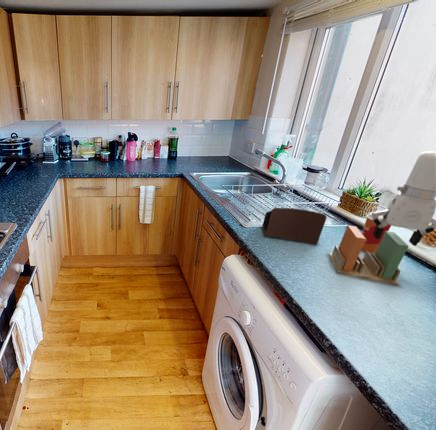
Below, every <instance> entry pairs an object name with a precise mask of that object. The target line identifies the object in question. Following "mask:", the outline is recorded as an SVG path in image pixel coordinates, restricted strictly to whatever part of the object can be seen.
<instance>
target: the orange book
mask: <svg viewBox="0 0 436 430" xmlns="http://www.w3.org/2000/svg"><path fill="white" fill-rule="evenodd" d="M365 240H366V238H365V237H364V236H363V235H362V231H361V230H360V229H359V228H358V227H357V226H355V225H349V224H348V225H347V226H346V228H345V230H344V233H343V235H342V238H341V240H340V243H339V245H338V248H339V250H340V252H341V254H342V255H343V257H344V259H345V263H344V265H343V268H342V269H343V270H347V271H352V270H353V267H354V265H355V263H356V261H357V258H358V256H360V254H361V252H362V250H361V249H362V247H363V245H364V243H365Z"/></svg>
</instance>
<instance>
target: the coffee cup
mask: <svg viewBox="0 0 436 430" xmlns="http://www.w3.org/2000/svg"><path fill="white" fill-rule="evenodd" d="M372 212H373V211H370V212H369V213H368V214H366V220H365V222H364V225H363V227H362V231H361V233H362V235H363V236H364V237H365V238H366V240H365V243H364V245H363V247H362V249H361V252H365V253H366V251H368V252H369V253H371V252H373V253H374V254H375V252H376V250H377V248H378V246H379V244H380V242H381V240H382V238H383V235H384V233H385V231H388V232H390V229H391V227H392V225H387V226H385V227H383V229H384V231H383V233H382V235H381V237H380V239H376V238H375V237H374V235H373V232H374V230H375V227H376V224H375V222H374V221H373V220H372V219H373V218H372V214H371V213H372ZM382 219H383V215H382V216H379V217H378V220H379V221H380V220H382Z"/></svg>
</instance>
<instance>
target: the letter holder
mask: <svg viewBox="0 0 436 430" xmlns="http://www.w3.org/2000/svg"><path fill="white" fill-rule="evenodd" d="M326 221H327V215H326V214H324V213H320V212H317V211H311V210H306V209H300V208H289V207H273V208H272V209H271V210H269V211H267V212H265V215H264V219H263V221H262V226H261V228H262V230H263V234H264V237H268V238H275V239H281V240H286V241H293V242H298V243H305V244H311V245H316V246H317V245H318V243H319V240H320V237H321V235H322V232H323V229H324V226H325V224H326Z"/></svg>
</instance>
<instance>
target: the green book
mask: <svg viewBox="0 0 436 430" xmlns="http://www.w3.org/2000/svg"><path fill="white" fill-rule="evenodd" d="M408 248H409V245H408V244H407V243H406V242H405V241H404V240H403V238H401V237H400V236H399V235H398V234H397V233H396V232H394V231H385V233H384V235H383V238H382V240H381V242H380V244H379V246H378V248H377V250H376V252H375V253H374V254H375V256H376V257H377V258H378V259H379V261H380V262H381V263H382V265H383V266H384V267H385V270H384V272H383V274H382V276H381V277H382V278H386V279H392V277H393V275H394V273H395V271H396V270H397V268H399V265H400V263H401V262H402V260H403V258H404V256H405V255H406V253H407V251H408Z"/></svg>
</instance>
